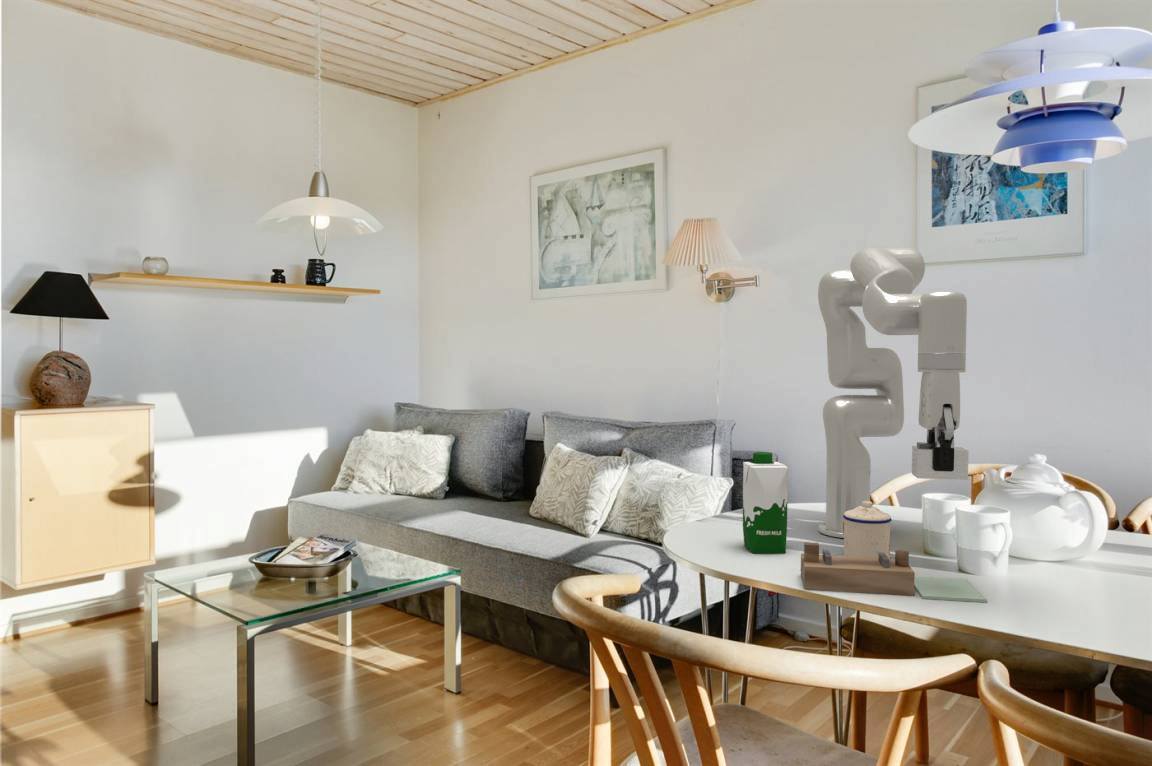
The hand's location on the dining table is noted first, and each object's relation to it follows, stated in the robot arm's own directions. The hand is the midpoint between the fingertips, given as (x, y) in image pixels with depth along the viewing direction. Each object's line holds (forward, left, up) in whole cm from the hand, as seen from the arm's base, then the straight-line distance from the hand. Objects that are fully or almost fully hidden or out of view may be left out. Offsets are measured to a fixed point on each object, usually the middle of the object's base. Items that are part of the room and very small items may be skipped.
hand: (939, 467), depth 138 cm
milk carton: (-23, -29, -22) cm, 43 cm away
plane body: (0, -14, -21) cm, 25 cm away
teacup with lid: (-20, -10, -22) cm, 31 cm away
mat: (0, +1, -21) cm, 21 cm away
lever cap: (0, 0, -2) cm, 2 cm away
